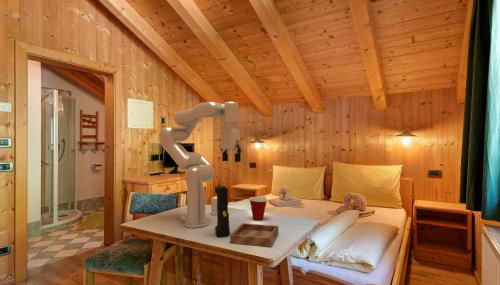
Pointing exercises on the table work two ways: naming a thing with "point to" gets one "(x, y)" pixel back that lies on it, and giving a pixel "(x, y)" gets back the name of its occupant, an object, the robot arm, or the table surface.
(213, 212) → the skincare box
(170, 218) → the table surface
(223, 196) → the portable radio
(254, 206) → the plastic cup
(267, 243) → the wooden tray
